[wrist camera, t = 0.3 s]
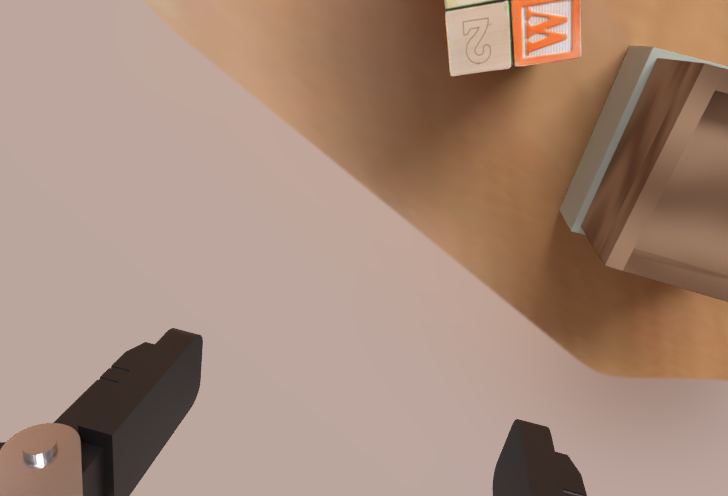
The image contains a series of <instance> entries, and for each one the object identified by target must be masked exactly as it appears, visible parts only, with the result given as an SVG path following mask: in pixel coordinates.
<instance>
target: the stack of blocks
mask: <svg viewBox="0 0 728 496" xmlns="http://www.w3.org/2000/svg"><path fill="white" fill-rule="evenodd" d="M444 5H445V25H446V37H447V49H448V61H449V72H450V76H451V77H453V76H459V75H466V74H473V73H481V72H488V71H496V70H503V69H510V68H511V67H512V66H515V67H521V66H529V65H536V64H542V63H549V62H556V61H563V60H569V59H575V58H579V57H581V0H444Z"/></svg>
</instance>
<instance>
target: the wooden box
mask: <svg viewBox="0 0 728 496" xmlns="http://www.w3.org/2000/svg"><path fill="white" fill-rule="evenodd" d="M581 228H582V230H583V231H584V233H585V234H586V236H587V238H588V239H589V241H590V243H591V244H592V246H593V247H594V249H595V251H596V252H597V254H598V256H599V257H600V259H601V260H602V262H603V264H604V265H605V266H608V267H611V268H614V269H618V270H621V271H625V272H628V273H631V274H635V275H638V276H642V277H645V278H648V279H652V280H655V281H659V282H662V283H665V284H669V285H672V286H676V287H679V288H682V289H686V290H689V291H693V292H696V293H699V294H703V295H706V296H710V297H713V298H717V299H720V300H723V301H727V302H728V69H725V68H721V67H717V66H713V65H710V64H706V63H698V62H690V61H681V60H672V59H663V58H657V60H656V62H655V64H654V66H653V69H652V71H651V73H650V75H649V77H648V80H647V82H646V84H645V86H644V88H643V91H642V93H641V95H640V97H639V99H638V102H637V104H636V106H635V108H634V110H633V113H632V115H631V117H630V119H629V121H628V124H627V126H626V128H625V130H624V132H623V135H622V137H621V139H620V141H619V143H618V145H617V148H616V150H615V152H614V154H613V156H612V159H611V161H610V163H609V165H608V167H607V170H606V172H605V174H604V176H603V178H602V181H601V183H600V185H599V187H598V189H597V192H596V194H595V196H594V198H593V200H592V203H591V205H590V207H589V209H588V211H587V214H586V216H585V218H584V220H583V222H582V224H581Z"/></svg>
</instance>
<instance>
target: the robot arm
mask: <svg viewBox="0 0 728 496" xmlns="http://www.w3.org/2000/svg"><path fill="white" fill-rule="evenodd" d="M202 345H203V340H202V337H201V335H198V334H194V333H190V332H186V331H182V330H178V329H175V328H172V329H170V330H168V331H167V332H166V333H165V334H164V336H163V337H162V338H161V339H160V340H159V341H158V342H157V343H156V344H155V345H154V344H151V343H147V342H145V343H143V344H141V345H139V346H137V347H135V348H133V349H131V350H129V351H127V352H125V353H124V354H123V355H122V356H121V357H120V358H119V359H118V360H117V361H116V362H115V363H114V364H113V365H112V367H111V369H108V370H107V371H106V372H105V373H104V374H103V375H102V376H101V377H100V379H99V380H97V381H96V382H95V383H94V384H93V385H92V386H91V387H89V388H88V390H87V391H86V392H84V393H83V394H82V395H81V397H79V398H78V399H77V400H76V402H74V403H73V404H72V405H71V406H70V407H69V408H68V409H67V410H66V411H65V412H64V413H63V414H62V415H61V416H60V417H59V418H58V419H57V420H56V421H55V422H54V423H46V424H40V425H36V426H32V427H29V428H27V429H25V430H23V431H21V432H19V433H17V434H15V435H14V436H13V437H11V438H10V439H9V440H8V441H7V442H4V443H0V496H129V495H130V494H131V492H132V491H133V490H134V488H135V487H136V485H137V484H138V482H139V481H140V480H141V478H142V477H143V475H144V474H145V473H146V471H147V470H148V468H149V467H150V465H151V464H152V463H153V461H154V460H155V458H156V457H157V456H158V454H159V453H160V451H161V450H162V448H163V447H164V446H165V444H166V442H167V441H168V440H169V438H170V437H171V436H172V434H173V433H174V431H175V430H176V428H177V427H178V425H179V424H180V423H181V421H182V420H183V418H184V417H185V416H186V414H187V413H188V411H189V410H190V408H191V407H192V405H193V403H194V401H195V399H196V396H197V394H198V391H199V387H200V378H201V361H202ZM493 496H587V495H586V491H585V487H584V484H583V480H582V477H581V474H580V473H579V471H578V470H577V468H576V467H575V465H574V464H573V462H572V461H571V460H570V458H569V457H568V455H565V454H562V453H558V452H555V450H554V446H553V441H552V437H551V433H550V430H549V428H548V427H546V426H542V425H538V424H534V423H530V422H526V421H523V420H518V419H517V420H515V421H514V423H513V425H512V427H511V430H510V432H509V434H508V437H507V439H506V442H505V445H504V447H503V449H502V452H501V454H500V457H499V459H498V462H497V464H496V468H495V472H494V479H493Z"/></svg>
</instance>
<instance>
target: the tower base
mask: <svg viewBox="0 0 728 496" xmlns="http://www.w3.org/2000/svg"><path fill="white" fill-rule="evenodd" d="M657 58H663V59H672V60H681V61H690V62H698V63H706V64H710V65H713V66H717V67H721V68H725V69H728V66H724V65H720V64H716V63H713V62H709V61H705V60H701V59H697V58H694V57H690V56H686V55H682V54H678V53H674V52H671V51H667V50H663V49H659V48H655V47H645V46H629V48H628V51H627V53H626V55H625V58H624V60H623V62H622V65H621V67H620V69H619V72H618V74H617V76H616V79H615V81H614V83H613V86H612V88H611V90H610V93H609V95H608V97H607V100H606V102H605V104H604V107H603V109H602V111H601V114H600V116H599V118H598V121H597V123H596V125H595V128H594V130H593V132H592V135H591V137H590V139H589V142H588V144H587V146H586V149H585V151H584V153H583V156H582V158H581V160H580V163H579V165H578V167H577V170H576V172H575V174H574V177H573V179H572V181H571V184H570V186H569V188H568V191H567V193H566V195H565V198H564V200H563V202H562V205H561V207H560V209H559V211H560V212H561V214H562V216H563V218H564V220H565V221H566V223H567V225H568V227H569V229H570V230H571V231H572V232H575V233H579V234H582V235H586V234H585V233H584V231H583V230H582V228H581V224H582V222H583V220H584V218H585V216H586V214H587V211H588V209H589V207H590V205H591V203H592V200H593V198H594V196H595V194H596V192H597V189H598V187H599V185H600V183H601V181H602V178H603V176H604V174H605V172H606V170H607V167H608V165H609V163H610V161H611V159H612V156H613V154H614V152H615V150H616V148H617V145H618V143H619V141H620V139H621V137H622V135H623V132H624V130H625V128H626V126H627V124H628V121H629V119H630V117H631V115H632V113H633V110H634V108H635V106H636V104H637V102H638V99H639V97H640V95H641V93H642V91H643V88H644V86H645V84H646V82H647V80H648V77H649V75H650V73H651V71H652V69H653V66H654V64H655V62H656V60H657Z"/></svg>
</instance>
